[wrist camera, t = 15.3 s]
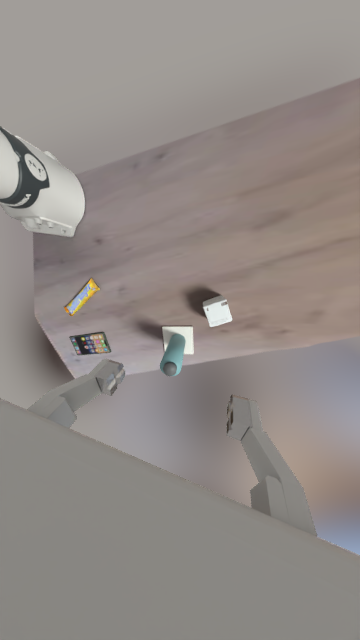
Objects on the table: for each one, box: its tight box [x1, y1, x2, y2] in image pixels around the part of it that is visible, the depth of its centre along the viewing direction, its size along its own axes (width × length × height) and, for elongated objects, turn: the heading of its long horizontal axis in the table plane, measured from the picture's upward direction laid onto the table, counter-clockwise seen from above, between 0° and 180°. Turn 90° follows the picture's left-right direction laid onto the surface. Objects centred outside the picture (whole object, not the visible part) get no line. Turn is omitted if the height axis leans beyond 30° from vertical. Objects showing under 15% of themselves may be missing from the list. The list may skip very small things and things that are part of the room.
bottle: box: [160, 334, 186, 376], centre depth 41 cm, size 5×5×15 cm
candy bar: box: [64, 278, 100, 316], centre depth 48 cm, size 17×4×2 cm, turn 128°
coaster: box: [162, 326, 194, 354], centre depth 48 cm, size 10×10×1 cm
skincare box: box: [203, 295, 232, 327], centre depth 40 cm, size 6×6×7 cm
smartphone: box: [70, 332, 111, 355], centre depth 54 cm, size 8×15×1 cm, turn 101°
